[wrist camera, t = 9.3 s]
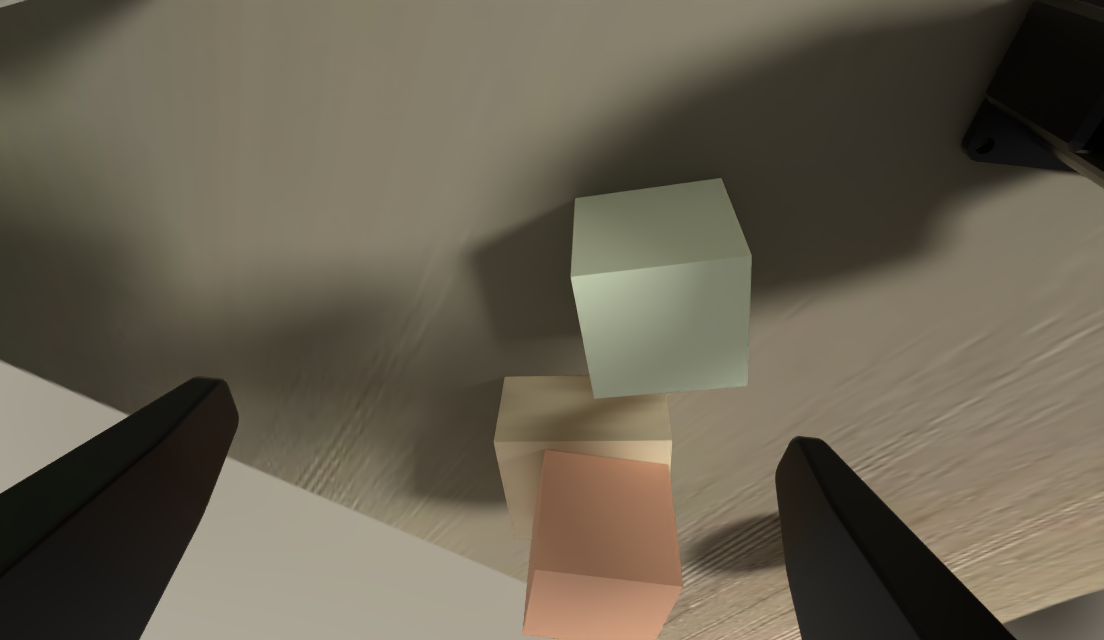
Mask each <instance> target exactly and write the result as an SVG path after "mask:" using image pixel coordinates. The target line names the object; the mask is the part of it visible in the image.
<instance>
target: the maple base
mask: <svg viewBox="0 0 1104 640" xmlns="http://www.w3.org/2000/svg"><path fill="white" fill-rule="evenodd" d="M494 446H495V451H496V455H497V460H498V465H499V469H500V474H501V479H502V483H503V488H504V493H505V497H506V502H507V507H508V511H509V516H510V521H511V525H512V530H513V535H514V539H518V540H531V537H532V526H533V518H534V512H535V506H536V500H537V494H538V489H539V483H540V477H541V471H542V465H543V460H544V454H545V450H551V451H559V452H567V453H575V454H584V455H592V456H600V457H608V458H616V459H625V460H633V461H641V462H649V463H657V464H666V465H669V471H670V464H671V450H672V436H671V428H670V421H669V413H668V405H667V398H666V393H657V394H645V395H633V396H621V397H609V398H597V399H594V395H593V390H592V385H591V380H590V375H573V376H520V377H505V379H504V385H503V390H502V396H501V402H500V408H499V413H498V419H497V425H496V431H495V436H494Z"/></svg>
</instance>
